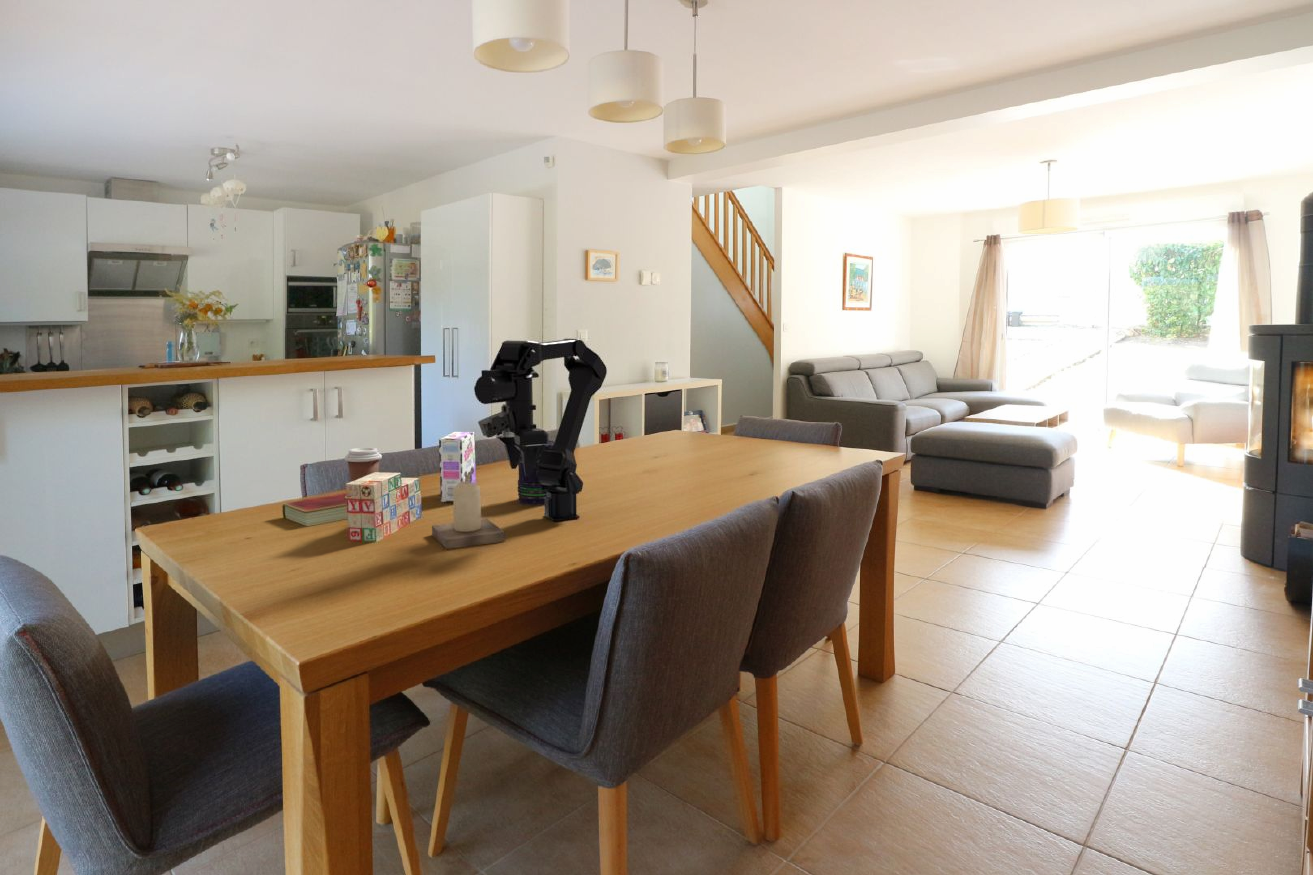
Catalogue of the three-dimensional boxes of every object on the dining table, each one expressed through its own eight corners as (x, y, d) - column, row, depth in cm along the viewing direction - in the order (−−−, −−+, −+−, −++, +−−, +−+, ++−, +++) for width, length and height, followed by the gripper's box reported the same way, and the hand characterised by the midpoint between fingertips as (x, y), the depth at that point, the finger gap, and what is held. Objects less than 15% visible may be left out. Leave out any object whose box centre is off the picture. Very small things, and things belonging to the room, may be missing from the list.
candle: (486, 526, 160) (485, 480, 158) (471, 533, 154) (470, 485, 153) (464, 524, 161) (463, 478, 160) (448, 530, 156) (447, 483, 155)
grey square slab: (487, 527, 166) (487, 518, 166) (504, 541, 156) (504, 531, 156) (432, 534, 160) (431, 525, 160) (446, 549, 150) (446, 539, 150)
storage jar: (537, 494, 199) (536, 438, 197) (565, 499, 194) (564, 442, 191) (509, 501, 191) (508, 443, 189) (537, 507, 186) (536, 447, 183)
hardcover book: (283, 519, 174) (281, 502, 173) (368, 504, 190) (367, 487, 189) (306, 529, 166) (305, 510, 165) (394, 511, 182) (393, 494, 181)
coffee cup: (352, 491, 202) (350, 446, 200) (387, 490, 203) (385, 446, 201) (342, 498, 193) (339, 452, 191) (378, 498, 194) (376, 452, 192)
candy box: (463, 503, 189) (461, 438, 187) (440, 503, 189) (437, 438, 187) (477, 491, 203) (475, 430, 200) (455, 491, 203) (453, 430, 201)
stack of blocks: (397, 515, 177) (394, 464, 175) (422, 516, 176) (420, 465, 174) (348, 541, 156) (344, 482, 154) (376, 542, 155) (373, 483, 153)
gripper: (469, 397, 164) (471, 468, 166) (495, 406, 148) (497, 484, 150) (518, 395, 169) (520, 464, 172) (548, 403, 153) (550, 478, 156)
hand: (520, 472), depth 162 cm, fingers open, 9 cm apart
